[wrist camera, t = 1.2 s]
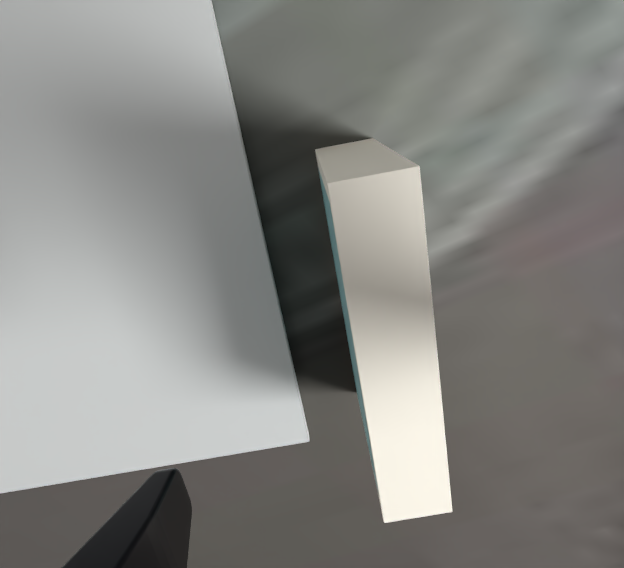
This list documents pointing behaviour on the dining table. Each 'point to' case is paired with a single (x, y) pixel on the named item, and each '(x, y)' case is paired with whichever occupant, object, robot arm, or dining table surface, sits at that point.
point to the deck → (389, 320)
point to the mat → (130, 249)
